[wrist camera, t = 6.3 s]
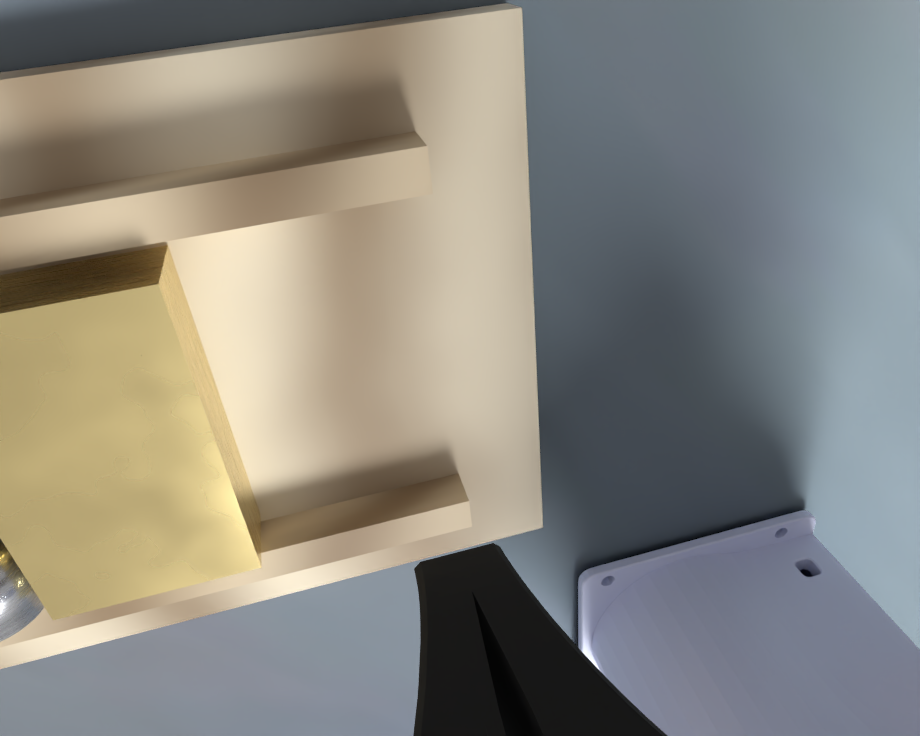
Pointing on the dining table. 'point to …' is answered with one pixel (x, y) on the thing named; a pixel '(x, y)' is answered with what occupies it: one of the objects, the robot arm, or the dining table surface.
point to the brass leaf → (115, 438)
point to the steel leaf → (15, 597)
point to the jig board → (313, 277)
